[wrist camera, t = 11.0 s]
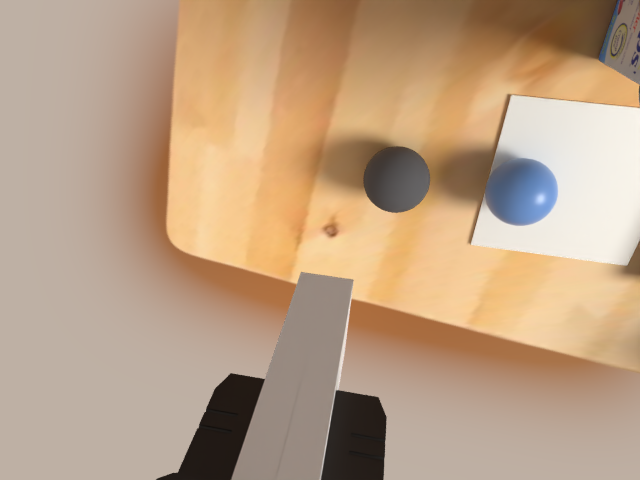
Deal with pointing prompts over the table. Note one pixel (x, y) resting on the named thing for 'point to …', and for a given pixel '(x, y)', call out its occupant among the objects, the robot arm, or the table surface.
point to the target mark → (573, 179)
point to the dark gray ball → (396, 179)
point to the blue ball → (521, 191)
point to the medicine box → (623, 40)
